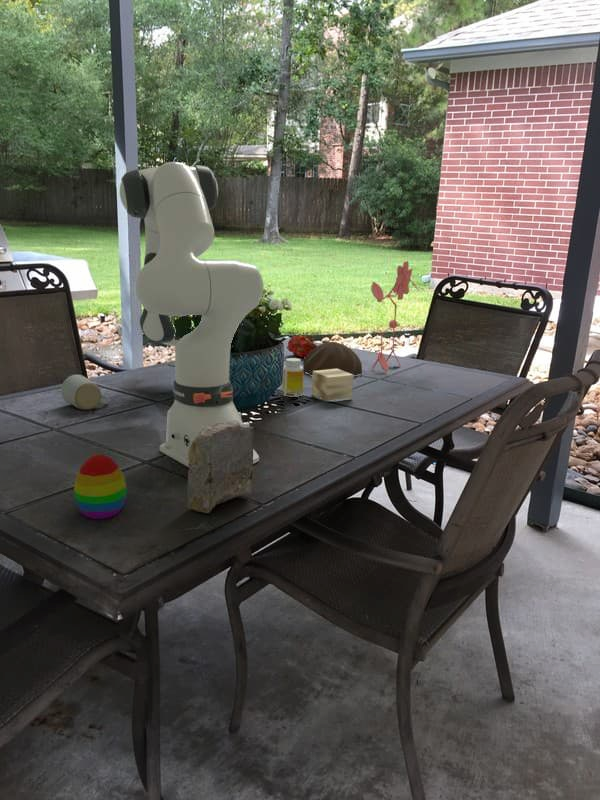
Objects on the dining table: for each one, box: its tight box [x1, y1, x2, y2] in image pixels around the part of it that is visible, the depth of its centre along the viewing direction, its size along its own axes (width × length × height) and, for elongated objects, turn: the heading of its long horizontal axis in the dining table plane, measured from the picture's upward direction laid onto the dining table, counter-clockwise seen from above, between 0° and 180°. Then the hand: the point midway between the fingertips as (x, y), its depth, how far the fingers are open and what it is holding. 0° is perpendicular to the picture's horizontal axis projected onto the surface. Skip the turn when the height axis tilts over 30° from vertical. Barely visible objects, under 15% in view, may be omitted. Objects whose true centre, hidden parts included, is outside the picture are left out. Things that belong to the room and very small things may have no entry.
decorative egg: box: [73, 453, 127, 520], centre depth 108 cm, size 8×8×10 cm
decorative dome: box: [302, 341, 363, 375], centre depth 209 cm, size 19×20×10 cm
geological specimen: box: [187, 420, 255, 514], centre depth 111 cm, size 11×6×15 cm, turn 141°
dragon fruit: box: [286, 334, 318, 358], centre depth 230 cm, size 8×8×12 cm
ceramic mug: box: [60, 374, 110, 411], centre depth 165 cm, size 11×8×8 cm
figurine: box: [364, 260, 420, 373], centre depth 211 cm, size 15×26×35 cm, turn 147°
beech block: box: [311, 369, 354, 401], centre depth 180 cm, size 8×8×7 cm
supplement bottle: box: [282, 357, 304, 398], centre depth 181 cm, size 6×6×10 cm
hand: (252, 339), depth 182 cm, fingers open, 8 cm apart
